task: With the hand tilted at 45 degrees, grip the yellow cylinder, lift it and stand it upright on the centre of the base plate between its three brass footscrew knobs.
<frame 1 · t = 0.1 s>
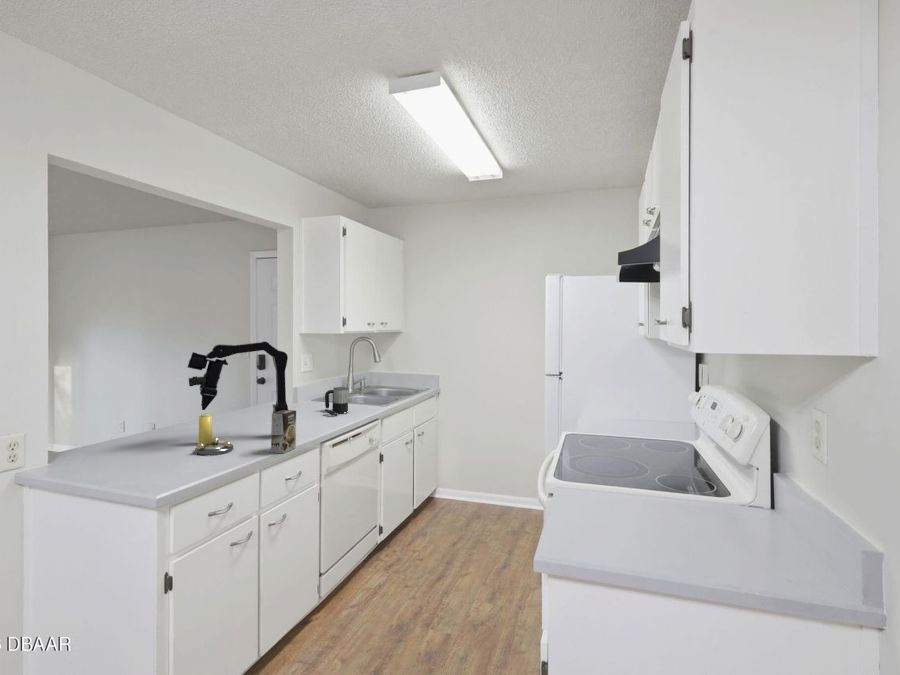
hand: (202, 408, 205), 15 cm above the worktop, tool pointing down, fingers open, 9 cm apart
coffee box: (283, 450, 198), on the worktop
yellow cylinder: (205, 443, 205), on the worktop
base plate: (214, 450, 194), on the worktop
milk frother: (336, 414, 278), on the worktop
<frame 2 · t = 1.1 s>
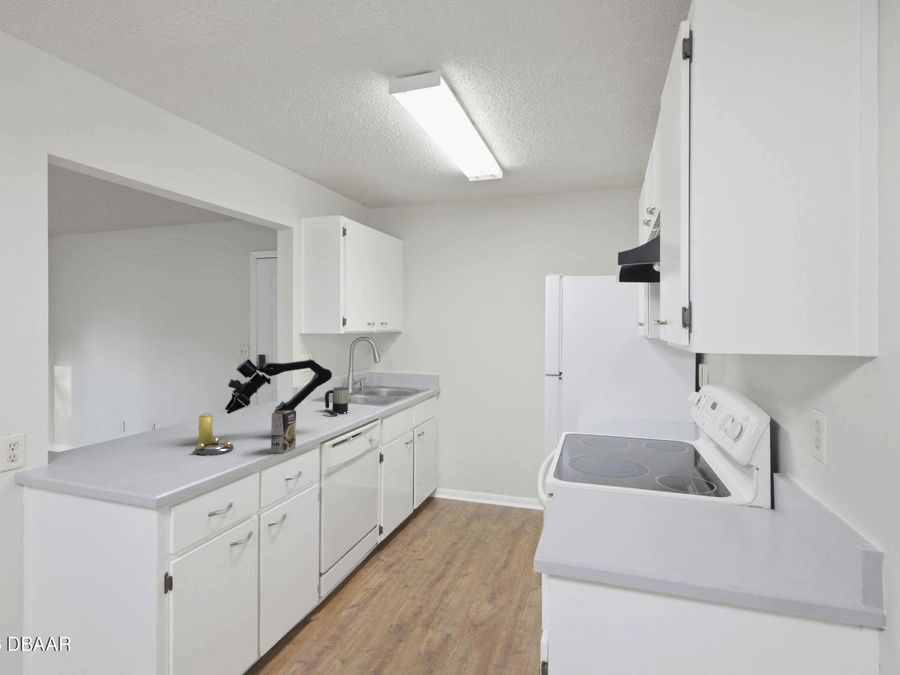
hand: (226, 411, 209), 14 cm above the worktop, tool tilted 45°, fingers open, 9 cm apart
nothing on the worktop moved.
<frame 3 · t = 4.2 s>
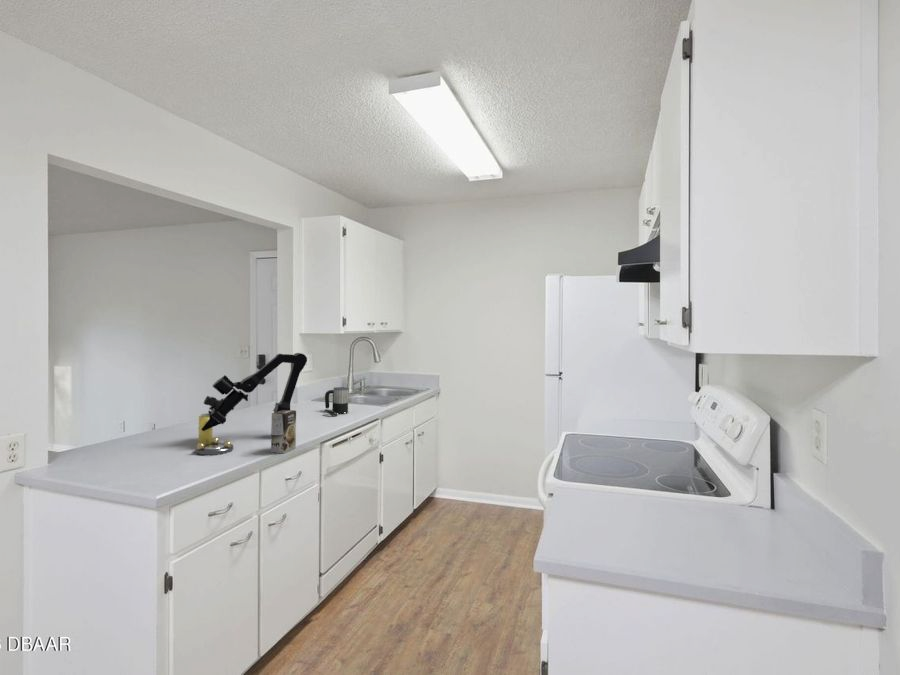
hand: (201, 428, 204), 7 cm above the worktop, tool tilted 45°, fingers closed on yellow cylinder, 5 cm apart
yellow cylinder: (205, 443, 205), on the worktop, touching gripper
everything else where it was.
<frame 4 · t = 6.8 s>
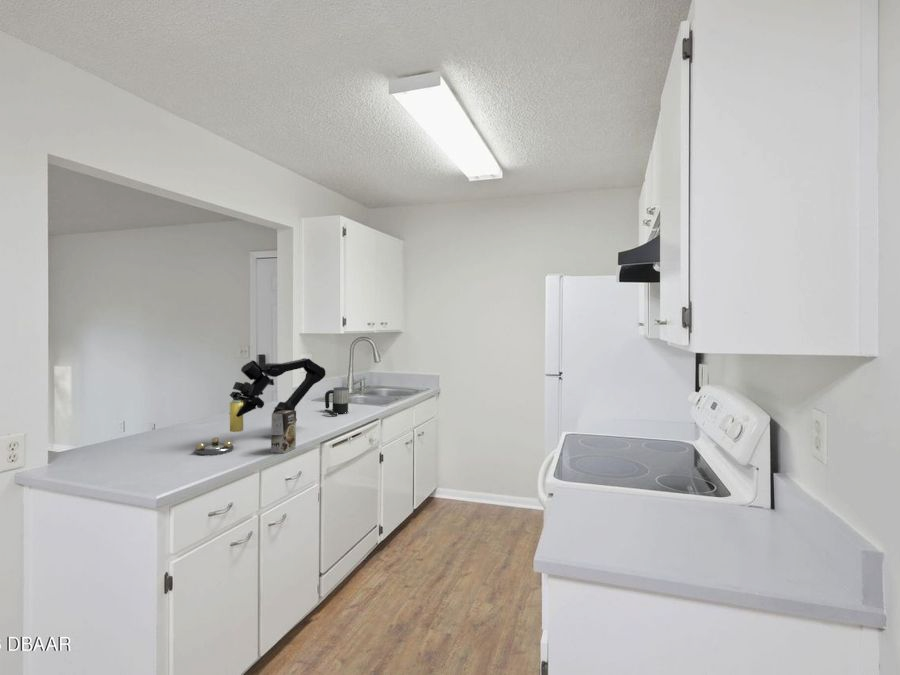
hand: (233, 415, 201), 13 cm above the worktop, tool tilted 45°, fingers closed on yellow cylinder, 5 cm apart
yellow cylinder: (236, 430, 202), point 7 cm above the worktop, touching gripper
everything else where it was.
when the fingers open (9 cm above the worktop, at t = 9.2 s): yellow cylinder drops 1 cm, resting on base plate.
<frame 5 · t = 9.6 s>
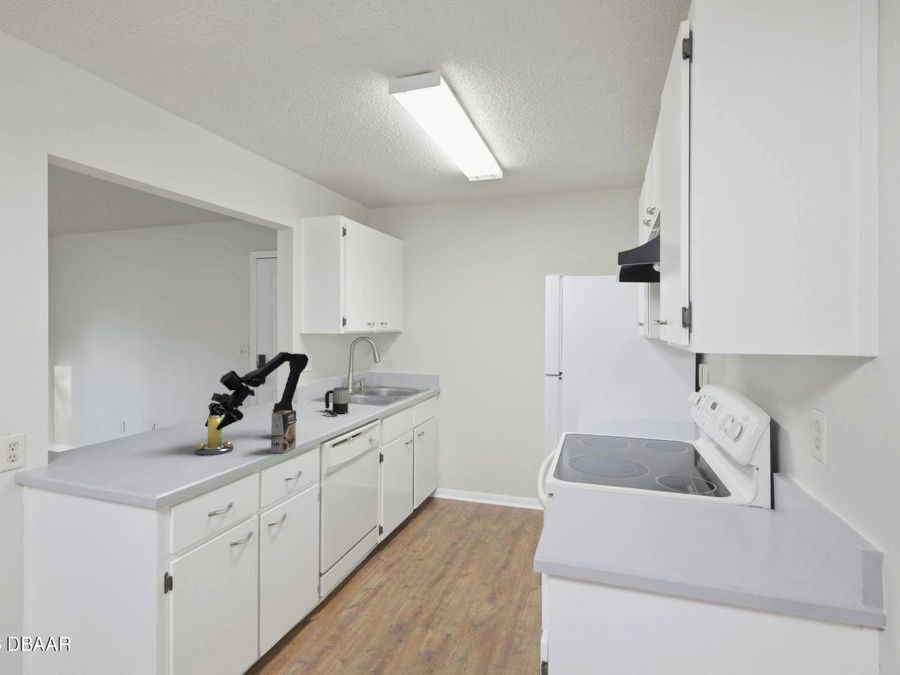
hand: (211, 427, 193), 10 cm above the worktop, tool tilted 45°, fingers open, 9 cm apart
yellow cylinder: (214, 446, 195), point 2 cm above the worktop, touching base plate
everything else where it was.
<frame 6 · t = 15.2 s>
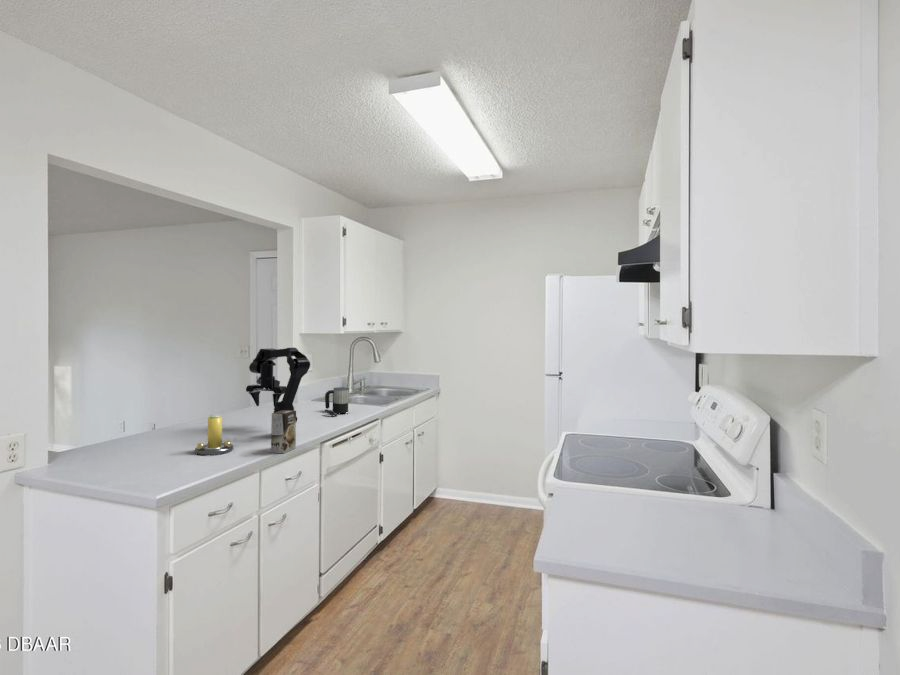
hand: (266, 406, 230), 12 cm above the worktop, tool pointing down, fingers open, 9 cm apart
nothing on the worktop moved.
at the end: yellow cylinder 0.1 cm off-centre on the base plate, point 1.6 cm above the base plate's base; yellow cylinder tilted 0°; the gripper is holding nothing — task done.
